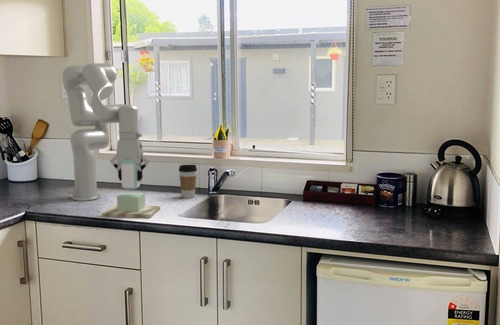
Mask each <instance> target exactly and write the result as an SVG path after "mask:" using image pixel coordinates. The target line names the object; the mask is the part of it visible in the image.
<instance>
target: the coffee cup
mask: <svg viewBox="0 0 500 325" xmlns="http://www.w3.org/2000/svg"><path fill="white" fill-rule="evenodd" d="M197 171H198V169H197V165H196V164H181V165H179V168H178V172H179V181H180V183H179V184H180V191H181V197H182V198H183V199H193V198H195V197H196V185H197Z"/></svg>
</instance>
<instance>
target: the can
mask: <svg viewBox="0 0 500 325" xmlns="http://www.w3.org/2000/svg"><path fill="white" fill-rule="evenodd" d="M137 171H138V168H137V165H136V164H135V163H134V162H133V161H132V160H124V161H123V162H122V163H121V176H122V180H121V188H123V190H136V189H138V188H139V187H140V181H141V180H140V181H138V179H137Z"/></svg>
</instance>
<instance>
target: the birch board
mask: <svg viewBox="0 0 500 325" xmlns="http://www.w3.org/2000/svg"><path fill="white" fill-rule="evenodd" d="M159 211H161V206H160V205H145V208H144V209H142V210H141V211H139V212H130V211H118V209H117V204H113V205H112V206H110V207H109V208H107V209H105V210H103V212H101V217H103V218H104V217H105V218H132V219H134V218H135V219H136V218H137V219H138V218H139V219H141V218H142V219H151V218H152V217H154V214H155V213H156V214H157V213H158V212H159ZM156 214H155V215H156Z"/></svg>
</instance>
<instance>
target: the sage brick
mask: <svg viewBox="0 0 500 325" xmlns="http://www.w3.org/2000/svg"><path fill="white" fill-rule="evenodd" d="M145 195H146V194H145V193H141V192H140V193H139V192H138V193H137V192H123V193H120V194H119V195H117V196H116V203H117V204H116V205H117V209H118V211H130V212H139V211H141V210H142V209H144V208H145V206H146V198H145V197H146V196H145Z"/></svg>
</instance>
